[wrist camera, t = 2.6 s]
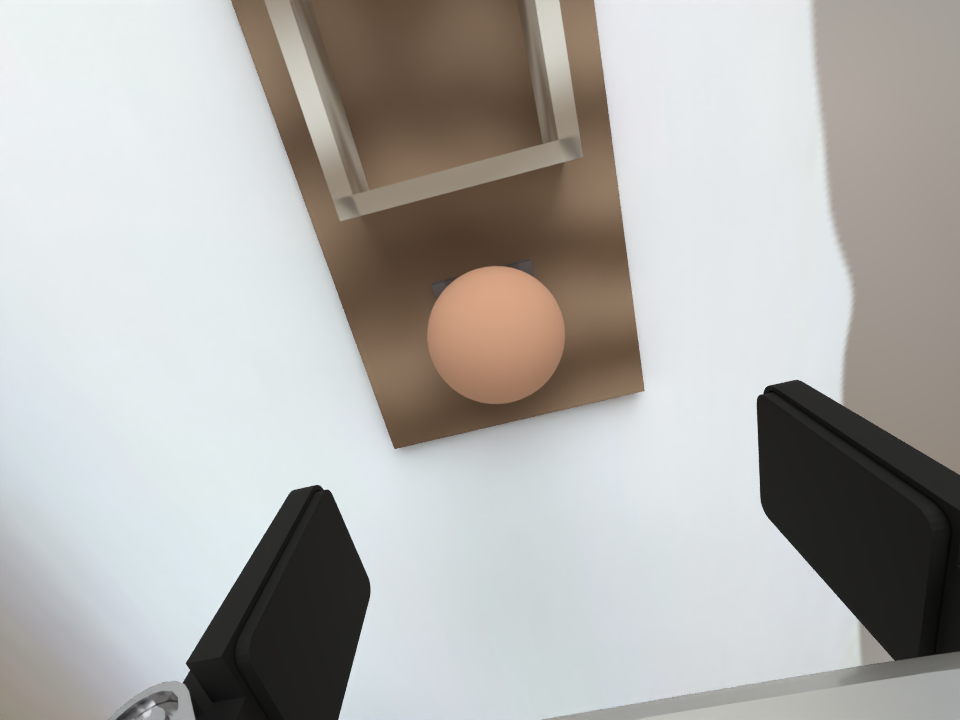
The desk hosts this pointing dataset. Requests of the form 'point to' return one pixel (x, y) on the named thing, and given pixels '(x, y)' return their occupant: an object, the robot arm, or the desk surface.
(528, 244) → the sorting board
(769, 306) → the desk surface
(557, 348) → the terracotta ball
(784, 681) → the robot arm
